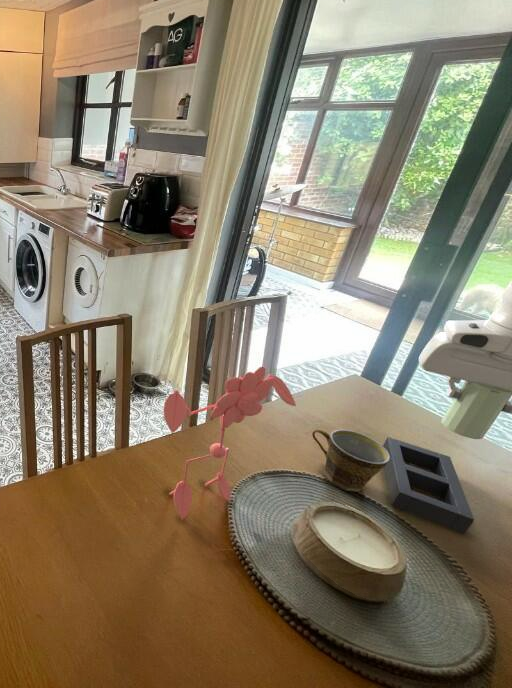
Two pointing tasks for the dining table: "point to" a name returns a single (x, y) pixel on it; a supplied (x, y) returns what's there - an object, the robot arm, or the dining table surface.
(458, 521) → the holder
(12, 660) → the dining table surface
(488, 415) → the bottle
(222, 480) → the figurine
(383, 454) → the ceramic cup
